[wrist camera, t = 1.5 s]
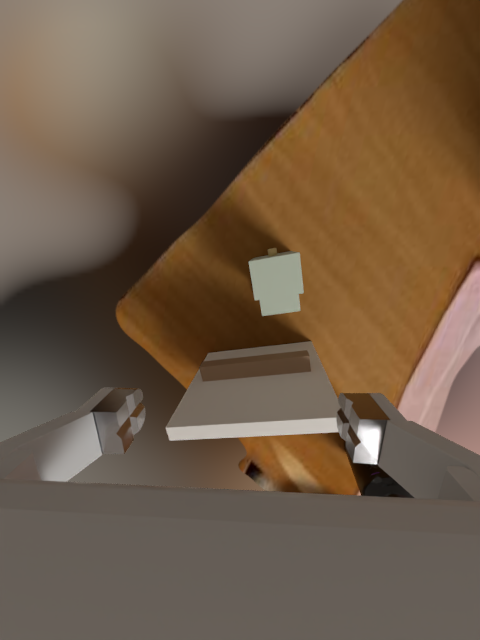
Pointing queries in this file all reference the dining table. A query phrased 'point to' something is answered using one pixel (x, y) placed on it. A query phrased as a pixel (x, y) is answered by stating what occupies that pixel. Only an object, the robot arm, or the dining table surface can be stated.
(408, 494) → the supplement bottle
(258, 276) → the pale green box
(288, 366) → the wall board
